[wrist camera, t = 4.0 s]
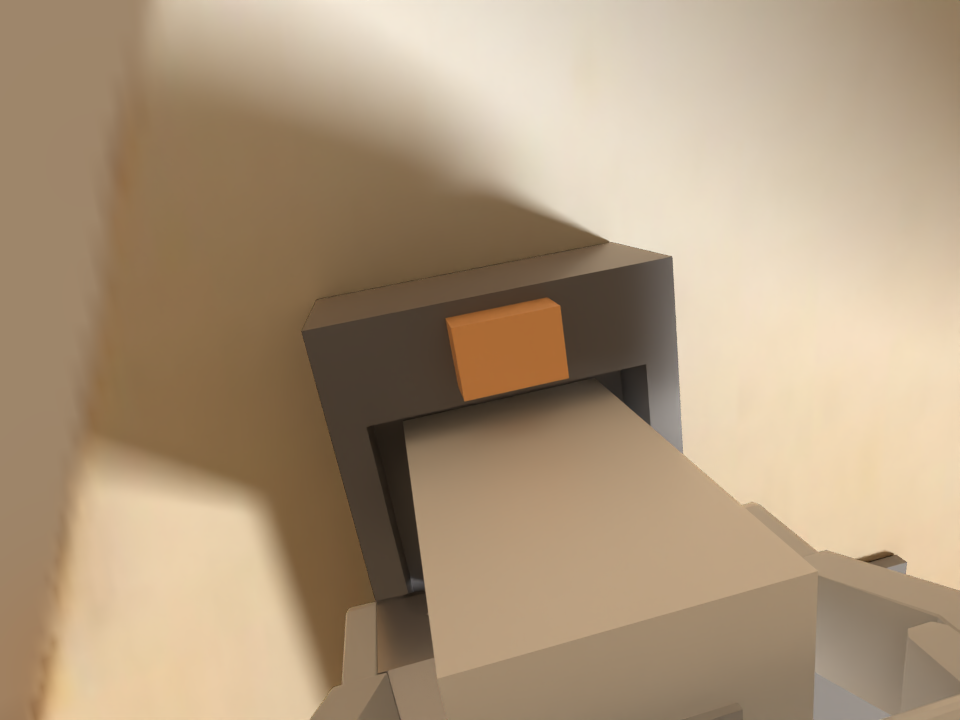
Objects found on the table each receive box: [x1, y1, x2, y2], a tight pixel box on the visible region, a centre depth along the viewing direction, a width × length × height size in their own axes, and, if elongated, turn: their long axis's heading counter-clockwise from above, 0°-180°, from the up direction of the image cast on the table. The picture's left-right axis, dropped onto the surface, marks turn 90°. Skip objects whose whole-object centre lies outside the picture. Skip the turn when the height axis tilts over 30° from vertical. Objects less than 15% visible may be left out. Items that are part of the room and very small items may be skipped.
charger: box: [403, 378, 818, 720], centre depth 10 cm, size 4×4×7 cm
